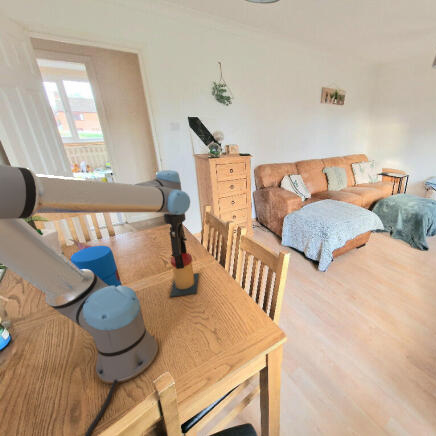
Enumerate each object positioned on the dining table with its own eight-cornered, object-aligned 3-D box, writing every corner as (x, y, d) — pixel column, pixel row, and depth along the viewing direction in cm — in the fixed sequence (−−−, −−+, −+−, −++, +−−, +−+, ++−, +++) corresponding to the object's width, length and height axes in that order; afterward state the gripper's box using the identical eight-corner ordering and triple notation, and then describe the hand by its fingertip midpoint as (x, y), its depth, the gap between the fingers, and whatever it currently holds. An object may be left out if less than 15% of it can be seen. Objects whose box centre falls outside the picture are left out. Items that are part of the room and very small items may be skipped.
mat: (196, 293, 99) (196, 292, 99) (170, 297, 97) (169, 296, 96) (198, 274, 112) (198, 273, 112) (175, 276, 109) (175, 275, 109)
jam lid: (191, 266, 97) (190, 262, 97) (169, 268, 95) (168, 264, 94) (192, 255, 105) (192, 252, 104) (172, 257, 102) (172, 254, 102)
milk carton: (36, 271, 108) (18, 232, 100) (56, 261, 116) (41, 223, 109) (53, 273, 107) (37, 234, 100) (72, 262, 116) (58, 225, 108)
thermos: (86, 325, 82) (62, 264, 73) (98, 304, 92) (79, 247, 82) (122, 318, 86) (104, 259, 76) (131, 298, 95) (116, 243, 85)
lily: (98, 259, 121) (101, 240, 122) (67, 259, 112) (70, 239, 113) (92, 257, 129) (95, 240, 130) (62, 257, 120) (65, 238, 121)
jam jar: (193, 287, 102) (190, 262, 97) (174, 290, 100) (169, 265, 95) (195, 277, 109) (191, 253, 104) (177, 279, 106) (172, 255, 102)
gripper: (180, 222, 82) (188, 275, 91) (187, 201, 102) (193, 247, 110) (156, 223, 80) (167, 278, 89) (168, 202, 100) (176, 249, 108)
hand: (182, 261), depth 100 cm, fingers open, 9 cm apart
